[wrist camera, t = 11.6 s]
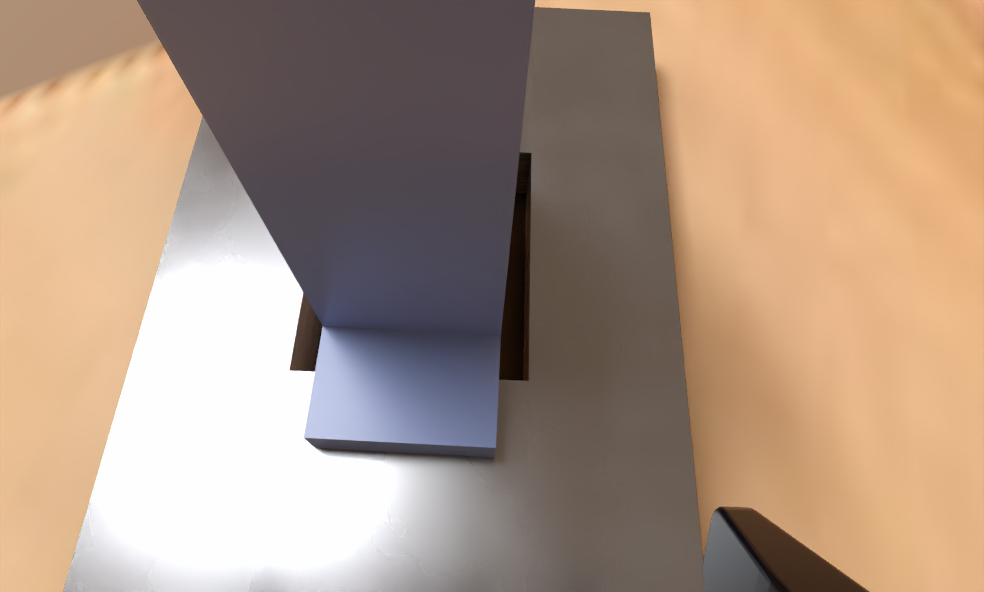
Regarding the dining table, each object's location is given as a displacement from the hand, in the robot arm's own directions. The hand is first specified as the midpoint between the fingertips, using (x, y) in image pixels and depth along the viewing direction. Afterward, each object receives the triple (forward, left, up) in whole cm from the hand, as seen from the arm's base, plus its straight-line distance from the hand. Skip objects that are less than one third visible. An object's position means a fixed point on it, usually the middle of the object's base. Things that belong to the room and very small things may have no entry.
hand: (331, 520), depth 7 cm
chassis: (+6, -3, -8) cm, 11 cm away
